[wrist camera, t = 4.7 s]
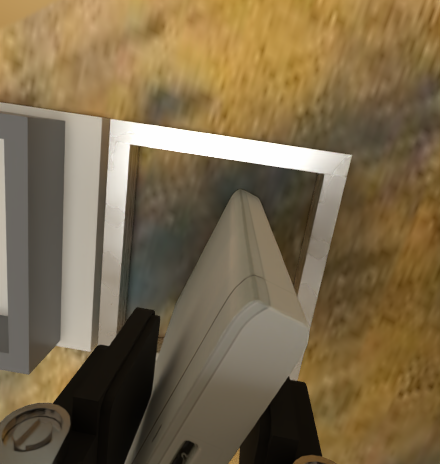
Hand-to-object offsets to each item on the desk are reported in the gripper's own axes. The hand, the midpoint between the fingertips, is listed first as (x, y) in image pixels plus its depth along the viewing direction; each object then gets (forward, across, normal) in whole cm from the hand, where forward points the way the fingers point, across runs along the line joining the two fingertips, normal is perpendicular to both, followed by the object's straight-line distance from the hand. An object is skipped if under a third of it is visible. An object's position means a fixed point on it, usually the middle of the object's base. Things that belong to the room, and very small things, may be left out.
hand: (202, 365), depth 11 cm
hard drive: (+9, +1, 0) cm, 9 cm away
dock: (+9, +13, 0) cm, 16 cm away
